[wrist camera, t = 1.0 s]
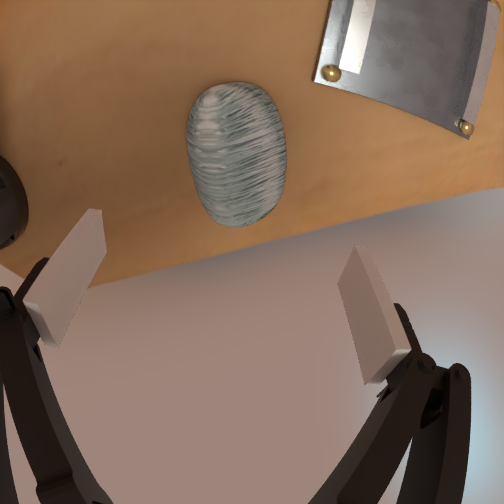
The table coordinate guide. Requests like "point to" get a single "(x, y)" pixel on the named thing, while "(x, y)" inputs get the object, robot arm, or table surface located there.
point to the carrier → (412, 55)
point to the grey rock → (237, 153)
